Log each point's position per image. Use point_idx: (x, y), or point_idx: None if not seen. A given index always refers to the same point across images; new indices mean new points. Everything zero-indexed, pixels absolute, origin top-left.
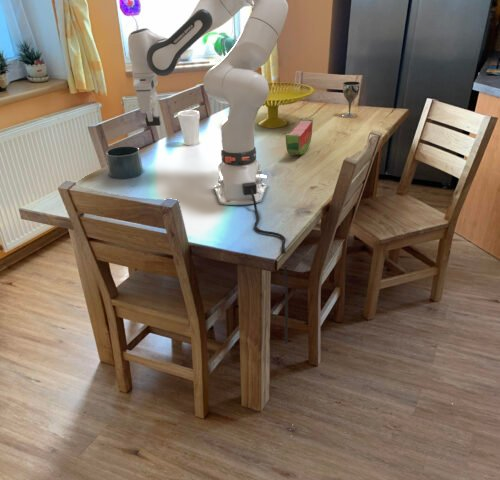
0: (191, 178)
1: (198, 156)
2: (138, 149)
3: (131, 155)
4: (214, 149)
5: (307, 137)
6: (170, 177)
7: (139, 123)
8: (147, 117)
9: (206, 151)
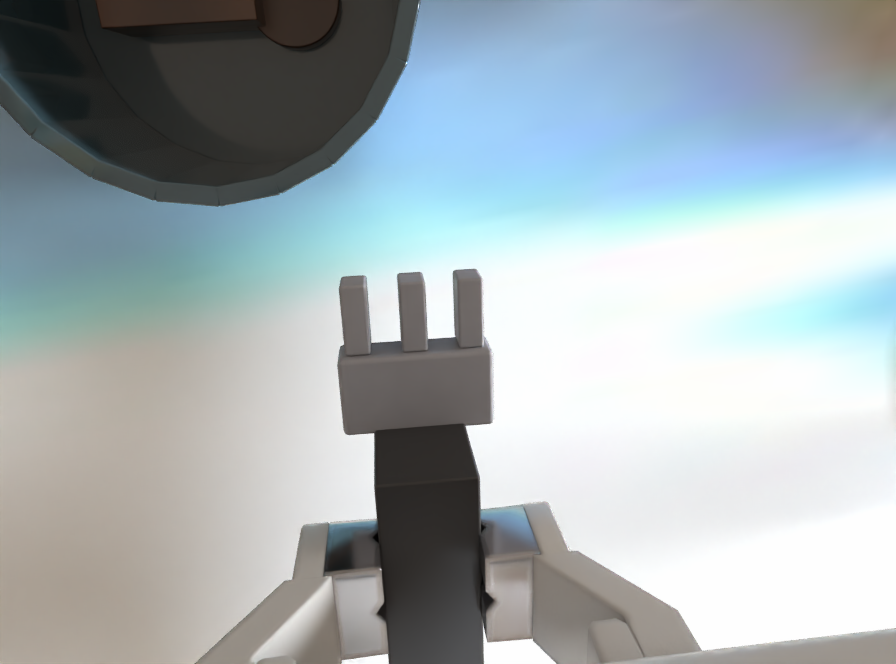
0: (133, 585)
1: (629, 547)
2: (257, 187)
3: (34, 136)
4: (766, 622)
5: None
6: (144, 438)
7: (416, 290)
8: (402, 522)
9: (734, 580)
